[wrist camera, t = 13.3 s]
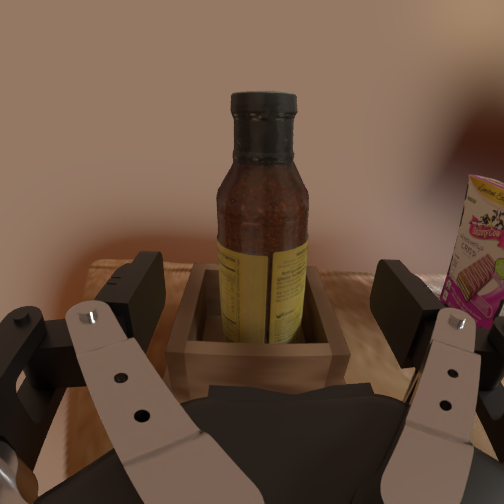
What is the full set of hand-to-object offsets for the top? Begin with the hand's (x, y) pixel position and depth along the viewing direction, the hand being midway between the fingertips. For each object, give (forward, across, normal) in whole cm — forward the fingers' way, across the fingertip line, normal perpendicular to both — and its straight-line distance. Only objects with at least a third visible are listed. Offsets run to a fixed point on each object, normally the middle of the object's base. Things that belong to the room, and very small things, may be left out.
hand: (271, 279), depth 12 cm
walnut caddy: (+10, 0, +14) cm, 17 cm away
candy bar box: (+15, -26, +14) cm, 33 cm away
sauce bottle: (+10, 0, +13) cm, 16 cm away
